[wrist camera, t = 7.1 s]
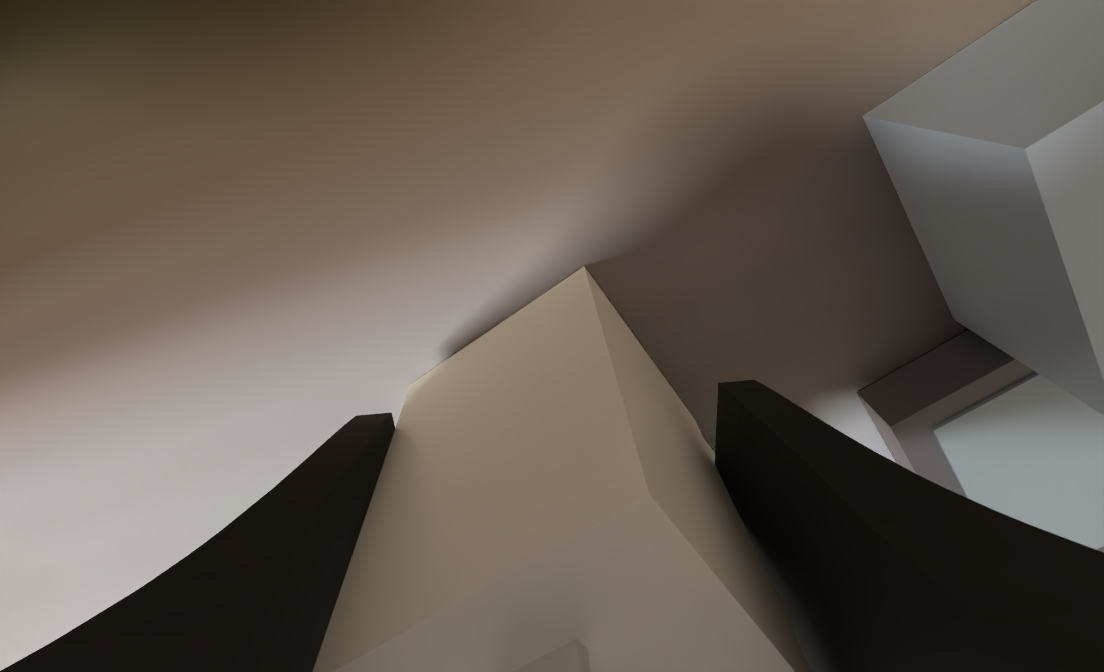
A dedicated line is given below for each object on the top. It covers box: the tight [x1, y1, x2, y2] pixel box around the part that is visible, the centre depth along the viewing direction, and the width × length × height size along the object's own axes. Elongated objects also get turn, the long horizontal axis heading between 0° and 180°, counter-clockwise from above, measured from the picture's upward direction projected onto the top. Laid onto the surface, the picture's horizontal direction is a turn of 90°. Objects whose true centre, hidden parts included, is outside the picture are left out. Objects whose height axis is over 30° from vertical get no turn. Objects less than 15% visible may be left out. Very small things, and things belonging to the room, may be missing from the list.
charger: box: [313, 267, 813, 672], centre depth 9 cm, size 4×4×7 cm
